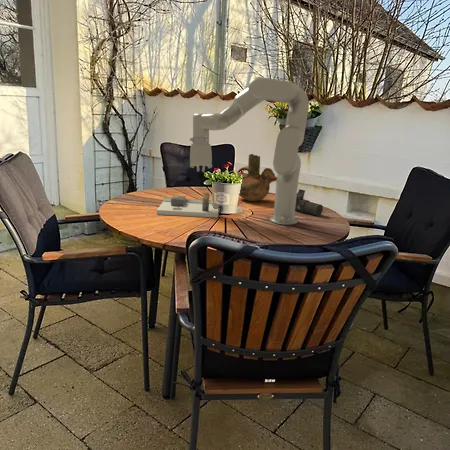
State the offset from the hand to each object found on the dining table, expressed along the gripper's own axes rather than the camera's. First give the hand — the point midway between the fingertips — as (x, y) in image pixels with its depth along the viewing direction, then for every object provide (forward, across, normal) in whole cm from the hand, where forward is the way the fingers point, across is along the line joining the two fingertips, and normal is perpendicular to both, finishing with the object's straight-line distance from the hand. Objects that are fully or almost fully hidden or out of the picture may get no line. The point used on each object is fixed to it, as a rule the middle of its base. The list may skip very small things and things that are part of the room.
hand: (200, 179), depth 202 cm
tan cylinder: (+13, +3, -10) cm, 16 cm away
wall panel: (+14, -5, -2) cm, 15 cm away
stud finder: (+12, -11, 0) cm, 16 cm away
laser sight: (+17, +50, +8) cm, 53 cm away
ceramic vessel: (+15, +27, +26) cm, 41 cm away
